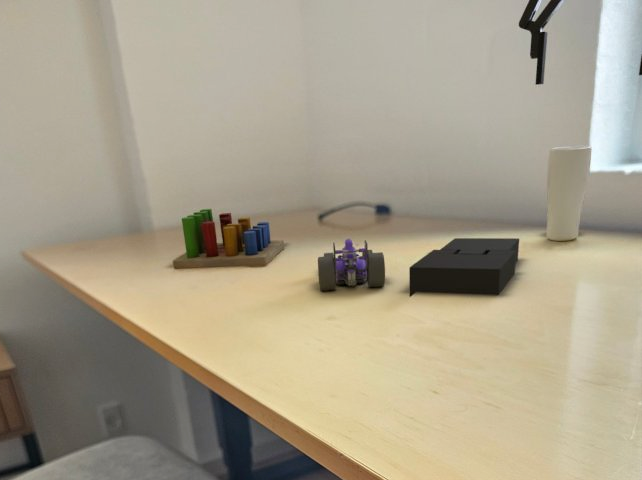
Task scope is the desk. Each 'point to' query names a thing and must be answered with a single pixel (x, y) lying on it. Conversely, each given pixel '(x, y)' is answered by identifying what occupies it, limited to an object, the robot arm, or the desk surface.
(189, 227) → the peg board
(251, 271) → the desk surface
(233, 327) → the desk surface
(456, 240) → the tab pad
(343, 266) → the toy race car
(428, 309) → the desk surface
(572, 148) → the drinking glass
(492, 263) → the notch pad
